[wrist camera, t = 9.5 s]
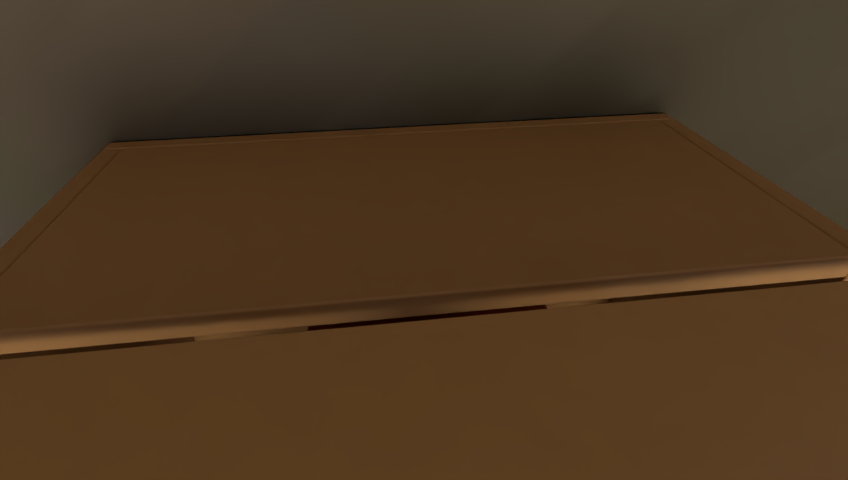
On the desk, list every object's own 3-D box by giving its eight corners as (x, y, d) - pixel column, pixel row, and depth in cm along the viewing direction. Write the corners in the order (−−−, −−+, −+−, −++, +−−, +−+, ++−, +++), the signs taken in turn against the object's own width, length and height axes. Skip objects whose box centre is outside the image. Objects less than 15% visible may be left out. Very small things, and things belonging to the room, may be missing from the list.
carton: (109, 141, 11) (-153, 392, 5) (665, 112, 12) (938, 287, 6) (239, 470, 18) (190, 719, 12) (576, 430, 19) (667, 640, 14)
